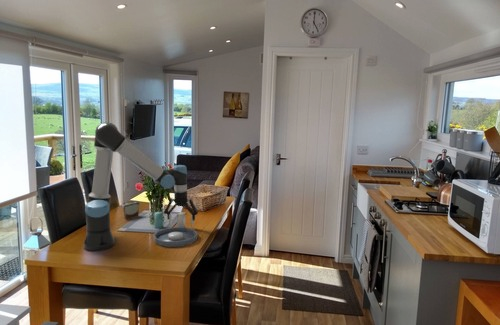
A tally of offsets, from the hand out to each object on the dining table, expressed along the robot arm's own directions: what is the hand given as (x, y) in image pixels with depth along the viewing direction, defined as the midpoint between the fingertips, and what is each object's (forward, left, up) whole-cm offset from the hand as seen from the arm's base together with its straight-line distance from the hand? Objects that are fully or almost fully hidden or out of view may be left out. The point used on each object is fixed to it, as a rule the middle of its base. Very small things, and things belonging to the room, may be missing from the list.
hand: (181, 225), depth 230 cm
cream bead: (0, 0, -2) cm, 2 cm away
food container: (+17, +40, -2) cm, 44 cm away
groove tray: (-18, -2, -2) cm, 18 cm away
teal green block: (0, +14, -2) cm, 14 cm away
